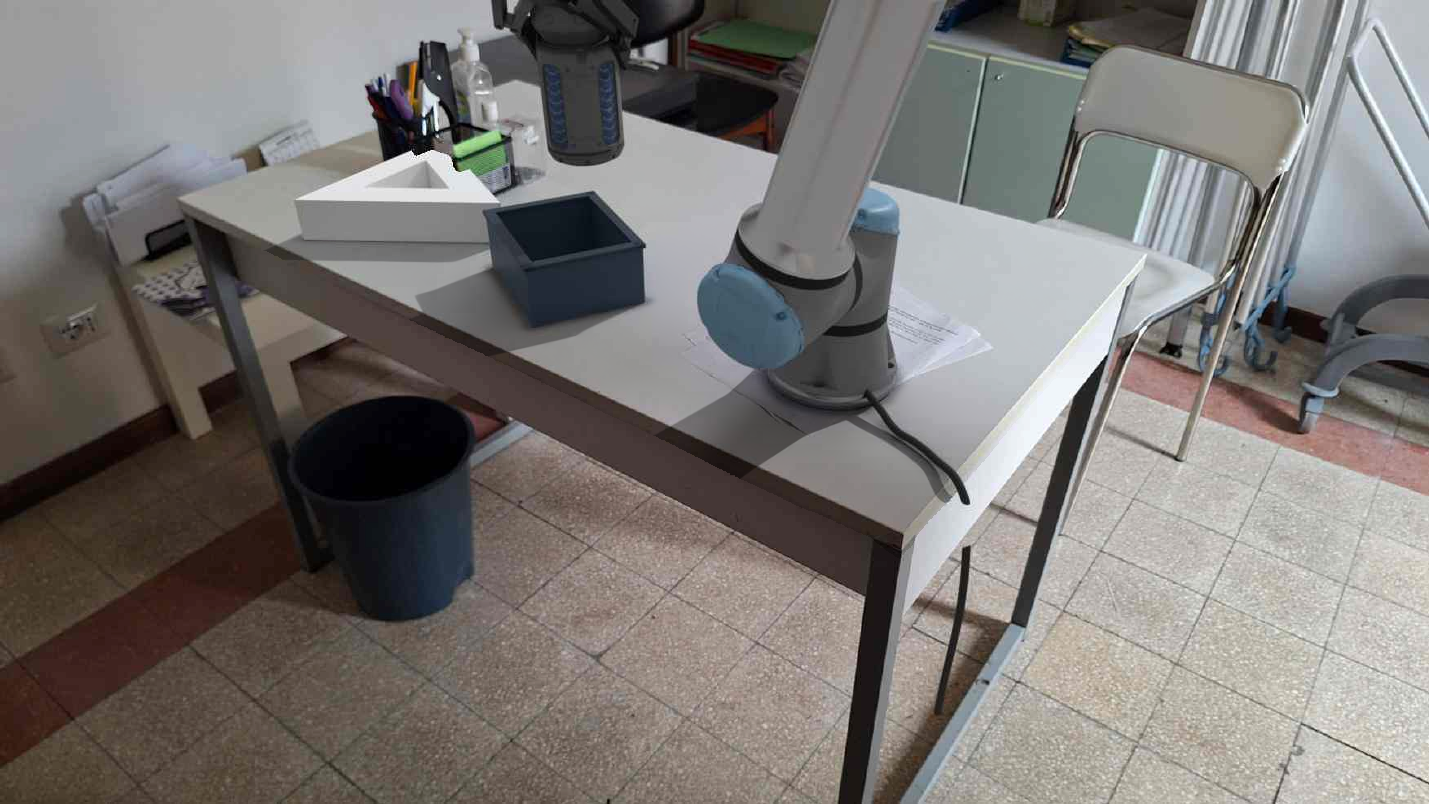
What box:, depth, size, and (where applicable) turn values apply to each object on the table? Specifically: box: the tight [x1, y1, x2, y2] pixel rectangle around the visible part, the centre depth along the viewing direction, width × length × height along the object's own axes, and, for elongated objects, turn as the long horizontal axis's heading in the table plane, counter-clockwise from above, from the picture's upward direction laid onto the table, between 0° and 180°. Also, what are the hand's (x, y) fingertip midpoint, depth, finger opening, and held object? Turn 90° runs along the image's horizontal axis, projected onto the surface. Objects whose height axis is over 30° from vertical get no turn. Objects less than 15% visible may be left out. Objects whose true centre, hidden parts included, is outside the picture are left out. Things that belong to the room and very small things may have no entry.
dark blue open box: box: [483, 190, 647, 328], centre depth 133 cm, size 19×16×9 cm
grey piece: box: [529, 0, 625, 167], centre depth 125 cm, size 10×13×25 cm
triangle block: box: [293, 150, 502, 244], centre depth 150 cm, size 30×26×6 cm
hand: (584, 57), depth 127 cm, fingers closed on grey piece, 11 cm apart
